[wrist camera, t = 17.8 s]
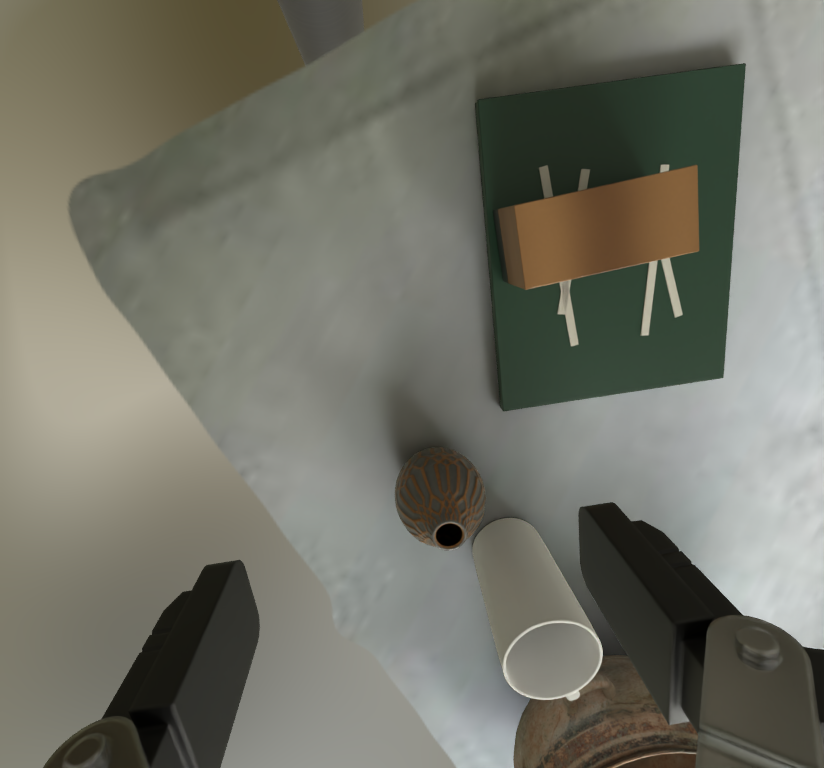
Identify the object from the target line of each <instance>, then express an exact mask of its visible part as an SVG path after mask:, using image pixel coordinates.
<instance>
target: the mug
mask: <svg viewBox="0 0 824 768" xmlns="http://www.w3.org/2000/svg"><path fill="white" fill-rule="evenodd" d="M472 553H473V559H474V563H475V568H476V572H477V576H478V580H479V583H480V587H481V591H482V595H483V598H484V602H485V606H486V610H487V614H488V618H489V622H490V626H491V630H492V633H493V637H494V641H495V645H496V649H497V653H498V656H499V660H500V663H501V667H502V670H503V674H504V677H505V679H506V681H507V683H508V684H509V685H510V686H511V687H512V688H513V689H514V690H515V691H516V692H518V693H520V694H521V695H523V696H526V697H529V698H533V699H539V700H552V699H558V698H562V697H566V698H567V699H568V700H569V701H572V700H575V699H577V698H579V696H580V693H579V690H580V689H582V688H583V687H584V686H586V685H587V684H588V683H589V682H590V681H591V680H592V679H593V678H594V676H595V675H596V673H597V672H598V670H599V668H600V665H601V662H602V657H603V650H602V645H601V642H600V640H599V638H598V636H597V635H596V633H595V631H594V629H593V627H592V625H591V623H590V621H589V620H588V618H587V616H586V614H585V613H584V611H583V609H582V607H581V606H580V604H579V602H578V601H577V599H576V597H575V595H574V594H573V592H572V590H571V589H570V587H569V585H568V583H567V582H566V580H565V578H564V577H563V575H562V573H561V571H560V570H559V568H558V566H557V564H556V563H555V561H554V559H553V557H552V556H551V554H550V552H549V550H548V549H547V547H546V545H545V544H544V542H543V540H542V539H541V537H540V536H539V534H538V532H537V531H536V530H535V528H534V527H533V526H532V525H530V524H529V523H527V522H526V521H523V520H521V519H516V518H504V519H499V520H496V521H494V522H491V523H490V524H488V525H487V526H485V527H484V528H483V529H482V530H481V531H480V532H479V533H478V535H477V536H476V538H475V540H474V543H473V549H472Z"/></svg>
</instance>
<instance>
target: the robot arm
mask: <svg viewBox="0 0 824 768" xmlns="http://www.w3.org/2000/svg"><path fill="white" fill-rule="evenodd" d="M579 546H580V565H581V571H582V575H583V578H584V581H585V583H586V586H587V588H588V590H589V592H590V593H591V595H592V597H593V598H594V600H595V602H596V603H597V605H598V607H599V608H600V610H601V612H602V613H603V615H604V617H605V619H606V620H607V622H608V624H609V625H610V627H611V629H612V630H613V632H614V634H615V635H616V637H617V639H618V640H619V642H620V644H621V645H622V647H623V649H624V651H625V652H626V654H627V656H628V657H629V659H630V661H631V662H632V664H633V666H634V667H635V669H636V671H637V672H638V674H639V676H640V677H641V679H642V681H643V682H644V684H645V686H646V688H647V689H648V691H649V693H650V694H651V696H652V698H653V699H654V701H655V703H656V704H657V706H658V708H659V709H660V711H661V713H662V714H663V716H664V718H665V720H666V721H667V723H668V725H673V724H679V723H685V722H690V723H691V724H692V726H693V727H694V729H695V730H696V732H697V733H698V740H697V752H696V764H695V768H824V650H821V649H813V648H806V647H802V645H801V644H800V643H799V642H798V641H797V640H796V639H795V638H793V637H792V636H791V635H790V634H788V633H787V632H785V631H784V630H782V629H781V628H779V627H777V626H775V625H773V624H771V623H769V622H766V621H764V620H761V619H758V618H754V617H750V616H743V615H742V614H741V613H740V612H739V611H738V610H737V609H736V607H735V606H734V605H733V604H732V603H731V602H730V601H729V600H728V599H727V598H726V597H725V596H724V595H723V594H722V593H721V592H720V591H719V590H718V589H717V588H716V587H715V586H714V585H713V584H712V583H711V581H710V580H709V579H708V578H707V577H706V576H705V575H704V574H703V573H702V572H701V571H700V570H699V569H698V568H697V567H696V566H695V565H692V563H691V561H690V560H689V559H688V558H687V557H686V555H685V554H684V553H683V552H682V551H679V549H678V547H677V546H676V545H675V544H674V543H673V542H672V541H671V540H670V539H669V538H668V537H667V536H666V535H665V534H664V533H663V532H662V531H660V530H658V529H656V528H655V527H653V526H651V525H649V524H647V523H646V522H644V521H642V520H639V521H633V522H631V521H630V520H629V518H628V517H627V516H626V515H625V514H624V513H623V512H622V511H621V509H620V508H619V507H618V506H617V505H616V504H615V503H613V502H610V503H604V504H597V505H591V506H585V507H581V508H580V509H579ZM259 627H260V624H259V614H258V610H257V606H256V603H255V600H254V596H253V593H252V590H251V586H250V583H249V579H248V576H247V572H246V569H245V566H244V564H243V563H242V561H241V560H236V561H230V562H224V563H217V564H211V565H207V566H205V567H204V569H203V570H202V572H201V574H200V576H199V578H198V580H197V582H196V583H195V585H194V587H193V589H192V591H186V592H182V593H181V594H180V595H179V596H178V597H177V598H176V599H175V600H174V601H173V602H172V603H171V604H170V605H169V606H168V607H167V608H166V609H165V610H164V611H163V613H162V615H161V617H160V618H159V620H158V622H157V624H156V625H155V627H154V629H153V630H152V635H150V636H149V637H148V639H147V641H146V643H145V644H144V646H143V648H142V652H141V653H139V655H138V657H137V658H136V660H135V662H134V663H133V665H132V667H131V669H130V670H129V672H128V674H127V676H126V677H125V679H124V681H123V683H122V684H121V686H120V688H119V690H118V691H117V693H116V695H115V696H114V698H113V700H112V702H111V703H110V705H109V707H108V709H107V710H106V712H105V714H104V716H103V717H102V719H101V720H98V721H96V722H94V723H92V724H90V725H88V726H86V727H84V728H83V729H81V730H80V731H78V732H77V733H75V734H74V735H73V736H71V737H70V738H69V739H68V740H67V741H65V742H64V743H63V744H62V745H61V746H60V747H59V748H58V749H57V750H56V751H55V752H54V753H53V755H52V756H51V757H50V758H49V760H48V761H47V762H46V764H45V765H44V767H43V768H220V767H221V763H222V760H223V757H224V753H225V750H226V747H227V743H228V740H229V736H230V733H231V730H232V726H233V723H234V720H235V716H236V713H237V710H238V707H239V703H240V700H241V696H242V693H243V690H244V686H245V683H246V679H247V676H248V673H249V670H250V666H251V663H252V660H253V656H254V653H255V649H256V646H257V643H258V638H259V629H260V628H259Z"/></svg>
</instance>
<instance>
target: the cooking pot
mask: <svg viewBox="0 0 824 768" xmlns="http://www.w3.org/2000/svg"><path fill="white" fill-rule="evenodd" d="M579 693H580V696H579V698H577V699H575V700H572V701H569V700H568V699H567V698H566V697H562V698H558V699H552V700H539V699H533V698H531V699H530V701H529V703H528V705H527V706H526V708H525V710H524V711H523V714H522V716H521V719H520V722H519V725H518V728H517V732H516V738H515V747H514V768H695V764H696V752H697V740H698V733H697V732H696V730H695V729H694V727H693V726H692V724H691V723H690V722H685V723H679V724H673V725H668V723H667V721H666V720H665V718H664V716H663V714H662V713H661V711H660V709H659V708H658V706H657V704H656V703H655V701H654V699H653V698H652V696H651V694H650V693H649V691H648V689H647V688H646V686H645V684H644V682H643V681H642V679H641V677H640V676H639V674H638V672H637V671H636V669H635V667H634V666H633V664H632V662H631V661H630V659H629V657H628V656H627V655H605V656H603V657H602V662H601V665H600V668H599V670H598V672H597V673H596V675H595V676H594V678H593V679H592V680H591V681H590V682H589V683H588V684H587V685H586V686H584V687H583V688H582V689H580V690H579Z"/></svg>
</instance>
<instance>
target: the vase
mask: <svg viewBox="0 0 824 768" xmlns="http://www.w3.org/2000/svg"><path fill="white" fill-rule="evenodd" d="M395 502H396V508H397V512H398V515H399V517H400V519H401V521H402V523H403V524H404V526H405V527H406V529H407V530H408V531H409V532H410V533H411V534H412V535H413V536H414V537H415V538H416V539H418V540H419V541H421V542H423V543H425V544H427V545H430V546H435V547H438V548H439V549H442V550H447V551H449V550H454V549H457V548H459V547H460V546H461V545H462V544H463V543H464V542H465V540H466V539H468V538H469V537H470V536H471V535H472V534H473V533H474V532H475V531H476V530H477V528H478V527H479V525H480V523H481V521H482V518H483V515H484V511H485V504H486V495H485V488H484V484H483V481H482V479H481V477H480V474H479V473H478V471H477V469H476V468H475V466H474V465H473V464H472V463H471V462H470V461H469V460H468V459H467V458H466V457H465V456H463V455H462V454H460V453H459V452H457V451H454V450H452V449H448V448H442V447H433V448H428V449H425V450H422V451H420V452H418V453H416V454H415V455H414V456H412V457H411V458H410V459H409V460H408V461H407V462H406V463H405V465H404V466H403V468H402V469H401V471H400V473H399V476H398V478H397V482H396V487H395Z"/></svg>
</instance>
